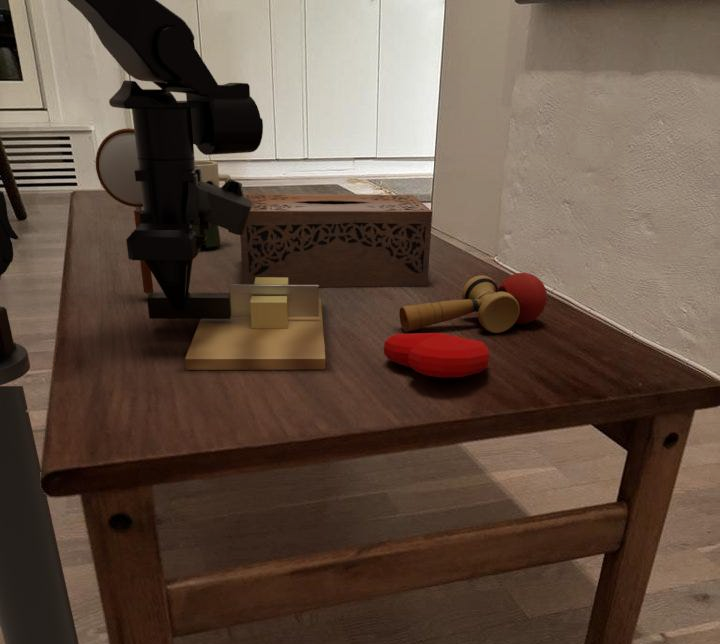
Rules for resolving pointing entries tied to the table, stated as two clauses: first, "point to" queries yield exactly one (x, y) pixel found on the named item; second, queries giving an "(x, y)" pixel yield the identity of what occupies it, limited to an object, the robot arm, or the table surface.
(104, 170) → the magnifying glass
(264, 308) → the butter slice
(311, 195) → the tissue box cover
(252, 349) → the board
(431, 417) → the table surface
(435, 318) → the kendama
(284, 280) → the butter block
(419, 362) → the heart
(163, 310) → the knife
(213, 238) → the character mug
